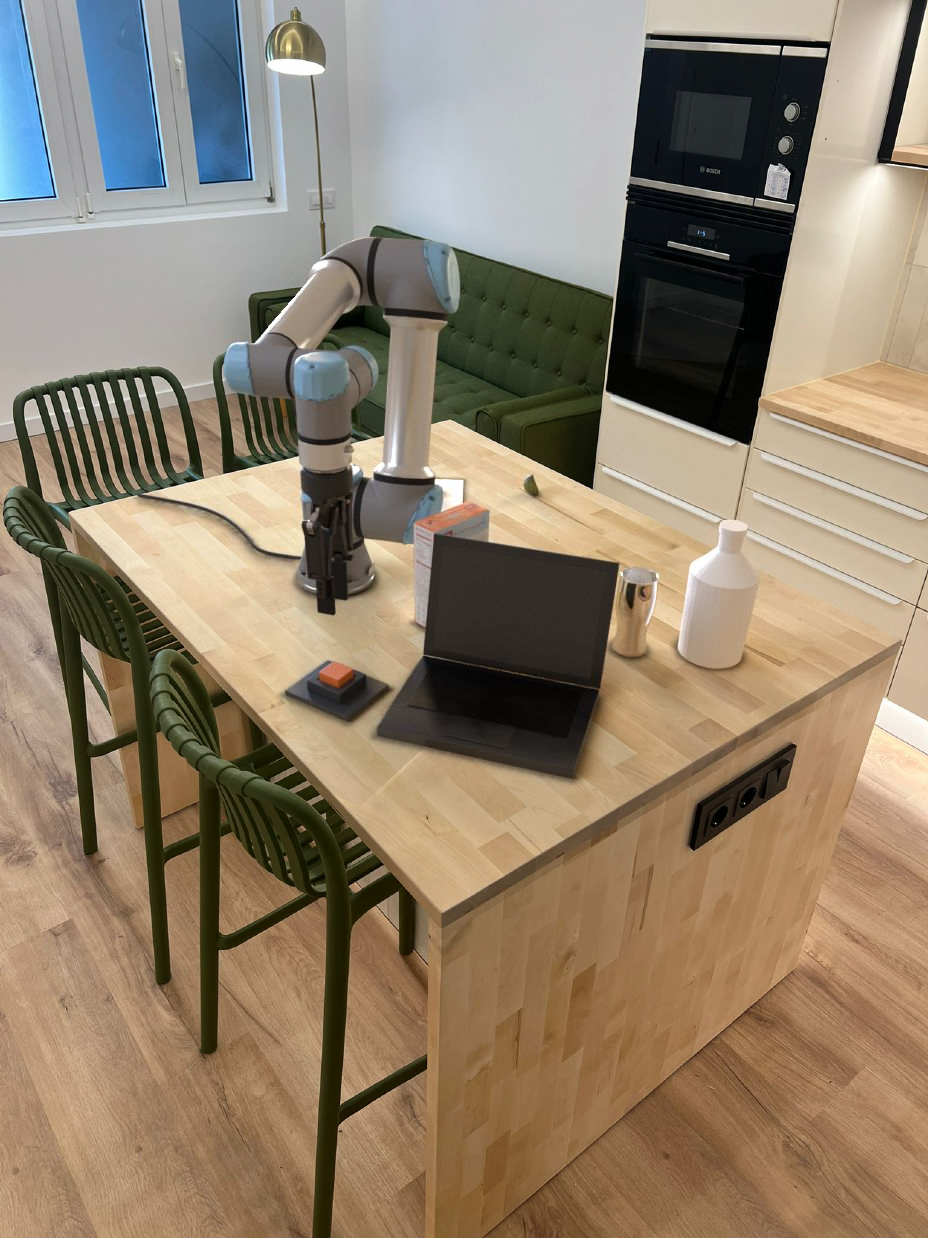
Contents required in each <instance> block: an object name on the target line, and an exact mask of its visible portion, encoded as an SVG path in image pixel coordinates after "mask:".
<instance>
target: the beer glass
mask: <svg viewBox="0 0 928 1238" xmlns="http://www.w3.org/2000/svg"><path fill="white" fill-rule="evenodd" d="M659 578H660V577H659V574H658V573H657V572H655V571H654V570H652V569H650V568H648V567H643V566H628V567H625V568H623V569H622V570H621V571H620V575H619V580H618V582H617V587H616V594H615V596H616V597H615V613H616V615H615V616H616V632H615V635H614V637H613V641H612V645H611V646H612V647H611V648H612V650H613V651H614V652H615V653H616V654H618V655H620V656H623V657H626V658H638V657H641V656H643V655H644V654H646V652H647V632H648V628H649V626H650V624H651V620H652V617H653V615H654V612H655V608H656V605H657V600H658V590H659Z"/></svg>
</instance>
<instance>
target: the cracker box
mask: <svg viewBox="0 0 928 1238" xmlns="http://www.w3.org/2000/svg"><path fill="white" fill-rule="evenodd" d="M435 533H437V534H443V535H450V536H456V537H462V538H468V539H474V540H481V541H487V542H490V539H489V538H490V537H489V536H490V509H488V508H485V507H483V506H481V505H479V504H476V503H474V502H472V501H465V502H463V504H460V505H457V506H455V507H452V508H450V509H447V510H445V511H442V512H440V513H437V514H435V515H432V516H429V517H427V518H424V519H421V520H419V521H416V522H414V544H413V569H414V570H413V583H414V585H413V586H414V587H413V588H414V589H413V591H414V594H413V595H414V623H416V624H417V625H419V626H421V627H423V628H424V629H425V628H426V617H427V606H428V595H429V584H430V573H431V562H432V552H433V541H434V534H435Z"/></svg>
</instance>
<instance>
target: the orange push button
mask: <svg viewBox="0 0 928 1238" xmlns="http://www.w3.org/2000/svg"><path fill="white" fill-rule="evenodd" d="M334 661H335V660H333V661H331V660H328V659H327V660H326V661H324V662H322V663H321V664H320V665H319V666H317V667H316V668H314V669H313V670H312V671H310V672H308V674H305V675H304V676H303V677H302V678H300V679H298V680H297V681H296V682H295V683H293V684H292V685H290V686H289V687H288V688H286V689H285V690H284V695H285V696H286V697H288V698H291V699H294V700H295V701H298V702H301V703H303V704H305V705H307V706H309V707H312V708H314V709H316V710H319V711H321V712H324V713H326V714H328V715H331V716H333V717H335V718H337V719H340V720H341V721H342V720H343V721H345V722H346V723H348V722H350V721H352V719H353V718H355V717H356V716H357V715H358V714H360V713H361V712H363V711H364V710H365V709H366V708H367V707H368V706H370V705H371V704H372V703H373V702H375V701H376V700H377V699H378V698H380V697H381V696H383V694H384V693H386V692H387V691H388V690H389V687H390V686H389V684H388V683H387V682H383V681H381V680H379V679H376V678H373V677H371V676H368V675H367V674H366V673H364V672H362V671H359V670H356V669H354V668H353V671H354V677H353V678H352V679H351V680H349V681H348V682H347V683H345V684H344V685H343V686H341V687H340V688H336V687H334V686H331V685H329V684H327V683H324V682H322V681H319V672H320V671H322V670H323V669H324V668H326V667H327V666H329V665H330V664H331V663H333V662H334Z"/></svg>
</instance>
